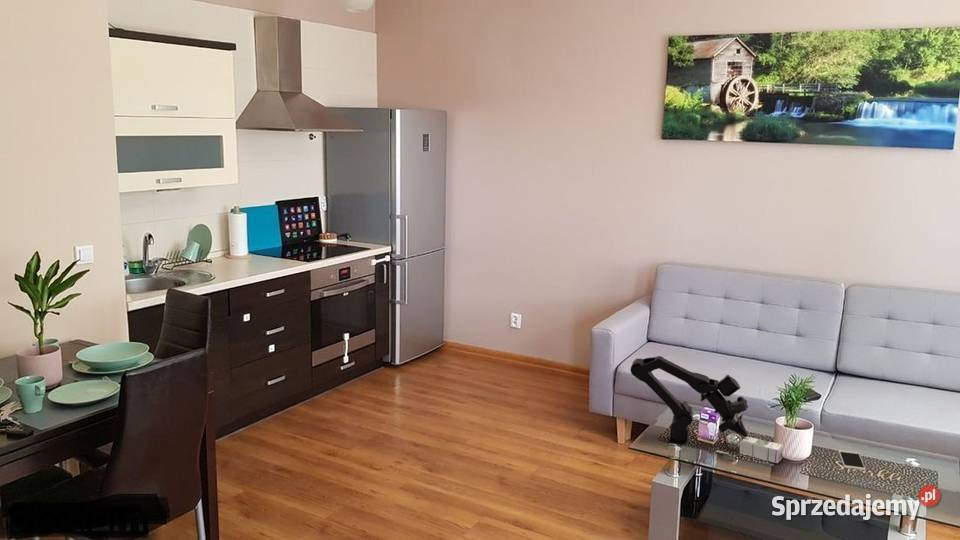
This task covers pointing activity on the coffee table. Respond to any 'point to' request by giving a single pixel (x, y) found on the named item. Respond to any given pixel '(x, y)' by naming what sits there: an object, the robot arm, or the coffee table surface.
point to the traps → (727, 457)
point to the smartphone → (851, 460)
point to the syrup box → (761, 449)
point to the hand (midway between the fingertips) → (746, 436)
